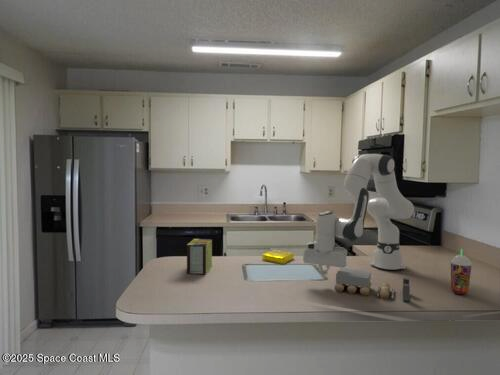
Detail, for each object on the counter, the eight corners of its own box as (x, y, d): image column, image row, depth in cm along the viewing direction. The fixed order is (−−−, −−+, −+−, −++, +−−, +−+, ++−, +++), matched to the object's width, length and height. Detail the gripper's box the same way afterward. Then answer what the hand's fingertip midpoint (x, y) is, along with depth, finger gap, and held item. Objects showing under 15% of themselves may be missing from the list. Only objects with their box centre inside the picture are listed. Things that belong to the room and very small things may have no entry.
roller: (381, 290, 164) (380, 282, 164) (390, 290, 163) (389, 282, 163) (380, 299, 153) (378, 291, 153) (389, 299, 152) (388, 290, 152)
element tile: (261, 261, 212) (261, 253, 212) (273, 256, 225) (273, 248, 224) (283, 265, 204) (283, 257, 203) (294, 260, 216) (295, 252, 216)
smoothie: (459, 296, 157) (462, 251, 156) (444, 289, 165) (446, 247, 164) (474, 294, 159) (477, 250, 158) (459, 288, 167) (461, 246, 166)
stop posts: (402, 292, 160) (403, 277, 160) (408, 293, 159) (409, 278, 159) (402, 301, 150) (403, 285, 150) (409, 302, 149) (409, 286, 149)
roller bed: (339, 283, 172) (339, 275, 172) (394, 291, 162) (394, 283, 162) (334, 291, 161) (334, 283, 161) (393, 300, 151) (393, 291, 151)
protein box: (212, 266, 199) (212, 239, 198) (206, 274, 183) (206, 245, 182) (193, 265, 200) (193, 238, 199) (186, 273, 184) (186, 244, 183)
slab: (340, 275, 172) (340, 267, 171) (370, 279, 166) (370, 271, 166) (335, 282, 161) (336, 274, 160) (368, 287, 155) (368, 278, 155)
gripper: (348, 246, 167) (347, 275, 167) (305, 242, 175) (305, 269, 175) (346, 249, 161) (345, 278, 162) (302, 244, 169) (301, 273, 170)
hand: (324, 274), depth 169 cm, fingers closed
